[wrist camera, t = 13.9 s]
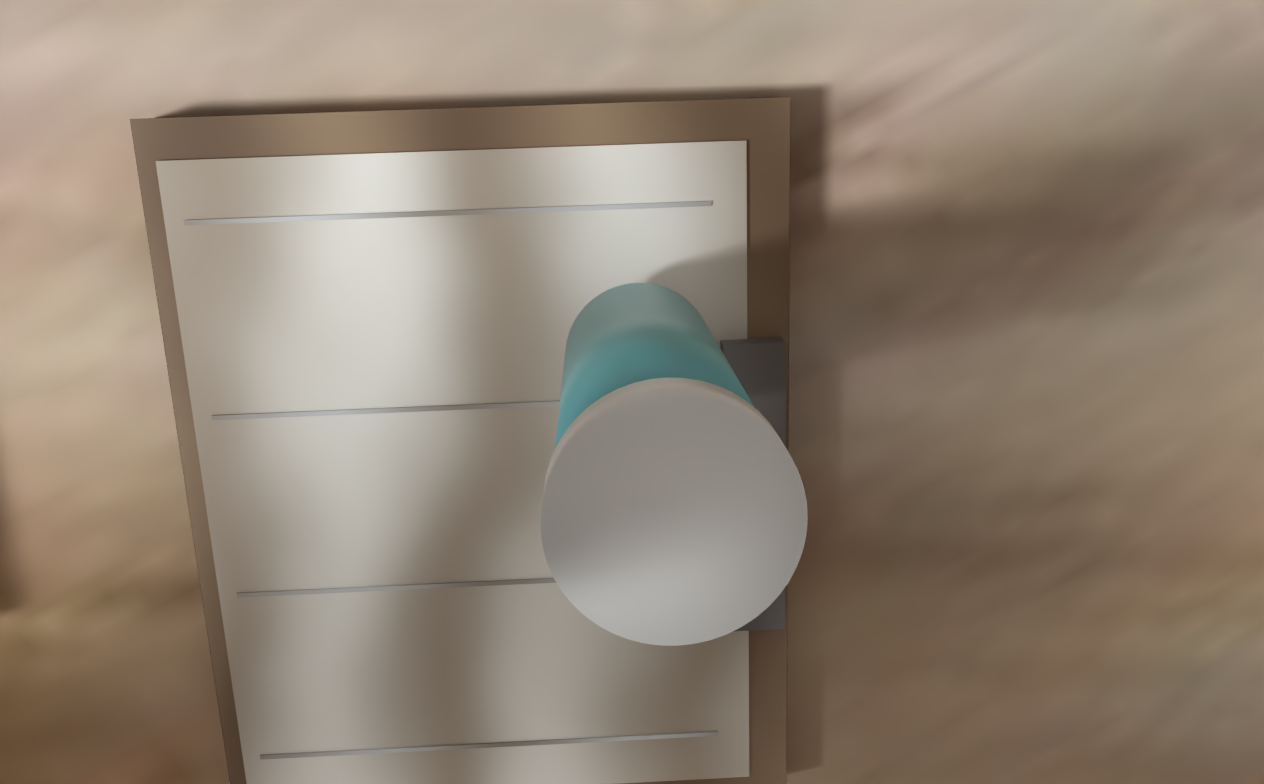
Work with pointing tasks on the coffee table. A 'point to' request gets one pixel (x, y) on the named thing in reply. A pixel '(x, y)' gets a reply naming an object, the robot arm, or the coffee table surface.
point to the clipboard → (449, 427)
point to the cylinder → (665, 478)
